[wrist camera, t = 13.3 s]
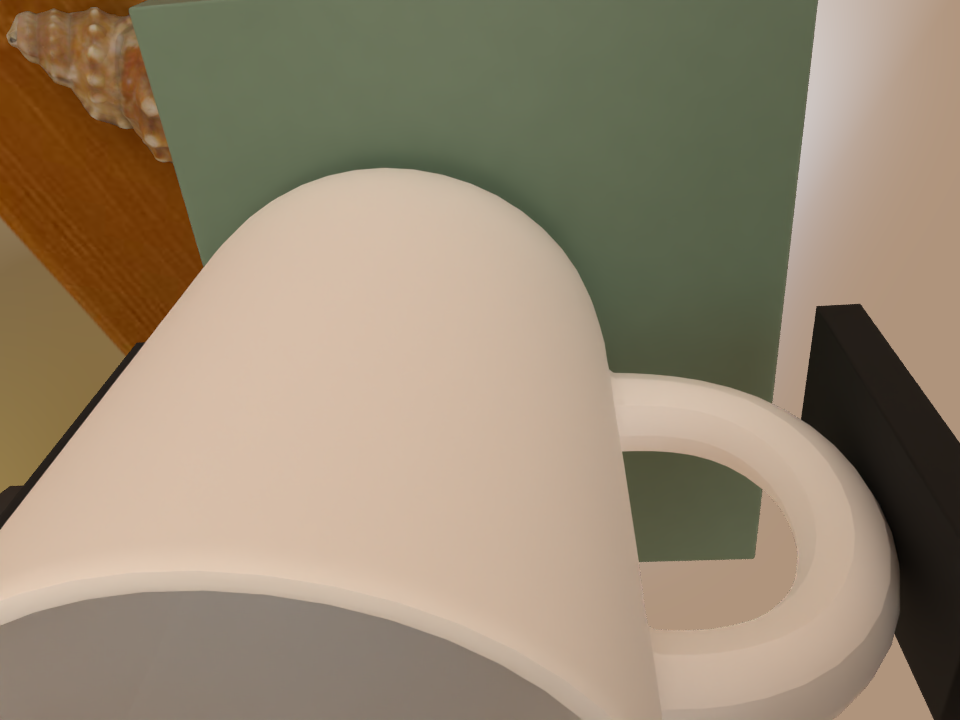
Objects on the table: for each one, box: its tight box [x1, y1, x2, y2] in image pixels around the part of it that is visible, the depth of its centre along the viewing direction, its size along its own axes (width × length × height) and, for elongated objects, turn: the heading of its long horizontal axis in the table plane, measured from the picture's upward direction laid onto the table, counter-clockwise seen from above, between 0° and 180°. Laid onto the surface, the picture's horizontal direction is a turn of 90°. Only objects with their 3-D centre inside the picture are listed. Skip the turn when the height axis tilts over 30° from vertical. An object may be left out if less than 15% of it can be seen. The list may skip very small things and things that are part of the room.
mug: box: [0, 168, 900, 720], centre depth 13 cm, size 12×8×10 cm
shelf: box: [129, 0, 818, 562], centre depth 30 cm, size 12×14×30 cm
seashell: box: [6, 7, 173, 163], centre depth 43 cm, size 9×8×10 cm
